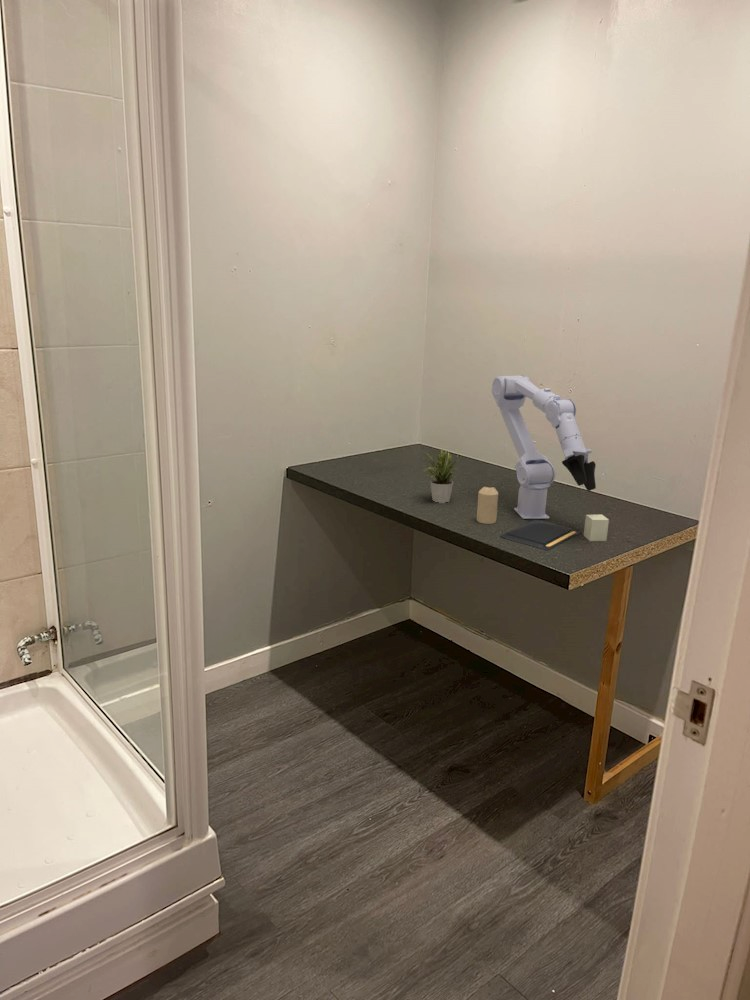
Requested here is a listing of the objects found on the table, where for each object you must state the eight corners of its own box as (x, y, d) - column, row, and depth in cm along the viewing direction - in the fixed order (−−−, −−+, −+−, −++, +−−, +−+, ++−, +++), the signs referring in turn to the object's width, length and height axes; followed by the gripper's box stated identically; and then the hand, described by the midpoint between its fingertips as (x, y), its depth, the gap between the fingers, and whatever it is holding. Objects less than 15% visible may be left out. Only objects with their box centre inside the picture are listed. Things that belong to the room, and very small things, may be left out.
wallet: (535, 516, 205) (584, 528, 195) (534, 522, 206) (583, 535, 196) (496, 532, 191) (547, 546, 181) (496, 538, 191) (546, 553, 182)
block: (583, 535, 194) (586, 514, 192) (599, 535, 194) (602, 514, 193) (589, 541, 190) (592, 519, 188) (606, 541, 190) (608, 519, 188)
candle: (494, 518, 206) (496, 484, 204) (497, 524, 201) (500, 490, 198) (475, 517, 206) (477, 484, 203) (478, 524, 201) (480, 489, 198)
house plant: (413, 493, 229) (415, 443, 224) (456, 493, 230) (459, 443, 225) (419, 506, 215) (421, 453, 211) (464, 506, 216) (468, 454, 212)
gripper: (576, 427, 182) (593, 475, 178) (593, 440, 194) (610, 486, 190) (550, 438, 186) (566, 486, 181) (569, 451, 198) (585, 495, 193)
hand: (587, 486), depth 186 cm, fingers open, 7 cm apart
